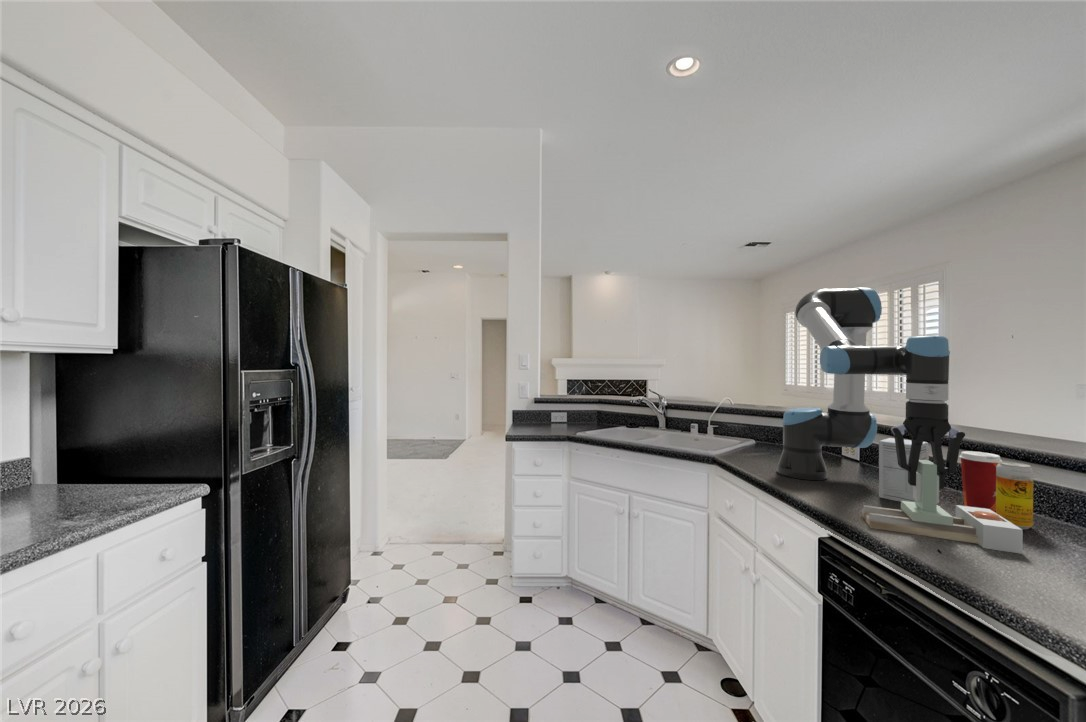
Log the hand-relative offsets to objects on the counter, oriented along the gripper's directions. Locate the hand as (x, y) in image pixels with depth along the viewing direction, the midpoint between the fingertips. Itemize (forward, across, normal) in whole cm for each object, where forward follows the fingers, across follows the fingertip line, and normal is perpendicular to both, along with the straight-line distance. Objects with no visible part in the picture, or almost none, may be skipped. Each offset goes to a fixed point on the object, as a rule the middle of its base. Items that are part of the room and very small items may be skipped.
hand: (925, 500), depth 101 cm
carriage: (+4, 0, 0) cm, 4 cm away
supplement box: (+7, +2, +27) cm, 28 cm away
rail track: (+7, -2, 0) cm, 7 cm away
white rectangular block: (+7, +11, 0) cm, 13 cm away
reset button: (+6, +11, 0) cm, 12 cm away
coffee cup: (+7, +18, +26) cm, 33 cm away
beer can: (+7, +20, +14) cm, 26 cm away
